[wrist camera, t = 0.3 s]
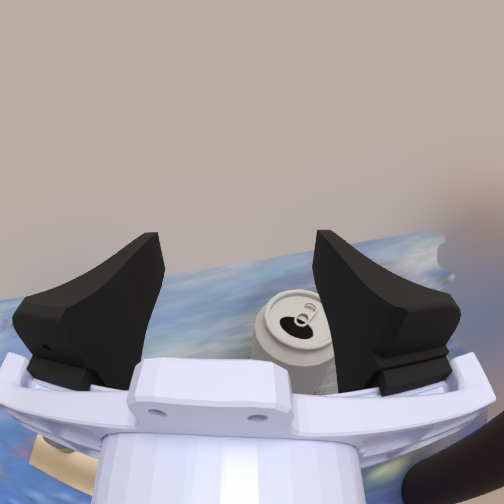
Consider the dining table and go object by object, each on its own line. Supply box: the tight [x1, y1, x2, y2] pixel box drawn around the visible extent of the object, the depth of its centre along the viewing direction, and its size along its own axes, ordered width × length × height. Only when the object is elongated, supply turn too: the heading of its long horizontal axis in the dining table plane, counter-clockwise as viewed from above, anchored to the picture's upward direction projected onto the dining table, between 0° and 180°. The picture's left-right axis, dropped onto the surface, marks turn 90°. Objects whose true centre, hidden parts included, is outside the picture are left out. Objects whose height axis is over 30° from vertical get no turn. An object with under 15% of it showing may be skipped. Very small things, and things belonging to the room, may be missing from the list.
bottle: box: [403, 411, 504, 504], centre depth 10 cm, size 7×7×20 cm
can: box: [250, 289, 334, 395], centre depth 25 cm, size 8×8×12 cm
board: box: [29, 434, 99, 496], centre depth 21 cm, size 16×17×1 cm
